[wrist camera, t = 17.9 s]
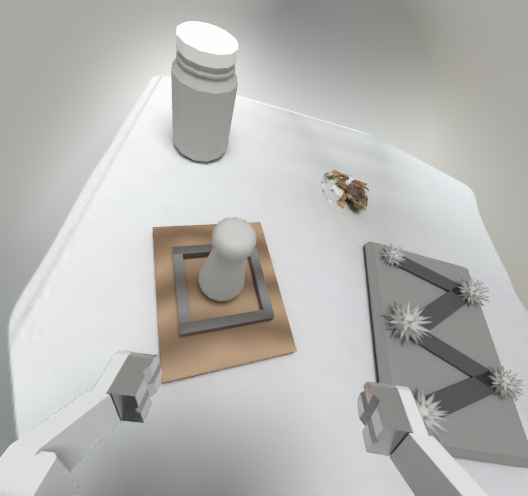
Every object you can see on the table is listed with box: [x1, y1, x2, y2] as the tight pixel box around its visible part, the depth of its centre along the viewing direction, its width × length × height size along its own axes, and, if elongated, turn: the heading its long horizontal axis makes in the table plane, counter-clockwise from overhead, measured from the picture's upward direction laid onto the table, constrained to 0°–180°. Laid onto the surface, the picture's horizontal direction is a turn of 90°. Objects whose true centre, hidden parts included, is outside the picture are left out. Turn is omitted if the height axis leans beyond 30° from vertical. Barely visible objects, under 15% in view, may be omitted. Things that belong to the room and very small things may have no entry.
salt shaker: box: [198, 218, 256, 302], centre depth 30 cm, size 6×6×13 cm
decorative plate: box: [365, 242, 528, 468], centre depth 39 cm, size 30×22×7 cm
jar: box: [171, 21, 239, 162], centre depth 43 cm, size 10×10×18 cm
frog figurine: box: [321, 170, 369, 211], centre depth 53 cm, size 12×12×4 cm
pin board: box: [153, 222, 297, 384], centre depth 35 cm, size 20×16×3 cm
